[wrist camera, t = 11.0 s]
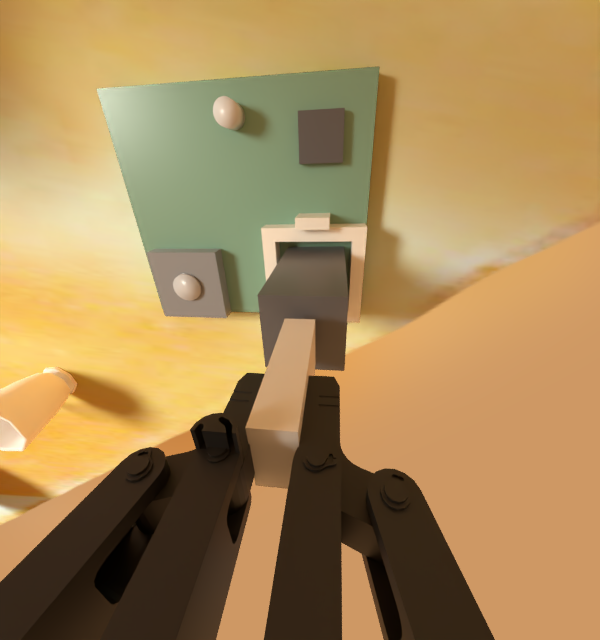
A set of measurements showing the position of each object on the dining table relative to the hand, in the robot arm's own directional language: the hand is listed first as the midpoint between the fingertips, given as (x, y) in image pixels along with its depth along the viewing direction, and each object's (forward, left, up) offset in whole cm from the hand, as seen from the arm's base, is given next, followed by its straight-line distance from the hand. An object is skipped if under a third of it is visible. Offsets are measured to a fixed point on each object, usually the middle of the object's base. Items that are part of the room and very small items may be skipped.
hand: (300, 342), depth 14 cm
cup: (+16, -35, -12) cm, 40 cm away
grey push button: (+1, -9, -12) cm, 15 cm away
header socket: (0, 0, -11) cm, 11 cm away
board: (-5, -6, -12) cm, 14 cm away
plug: (0, 0, -11) cm, 11 cm away
